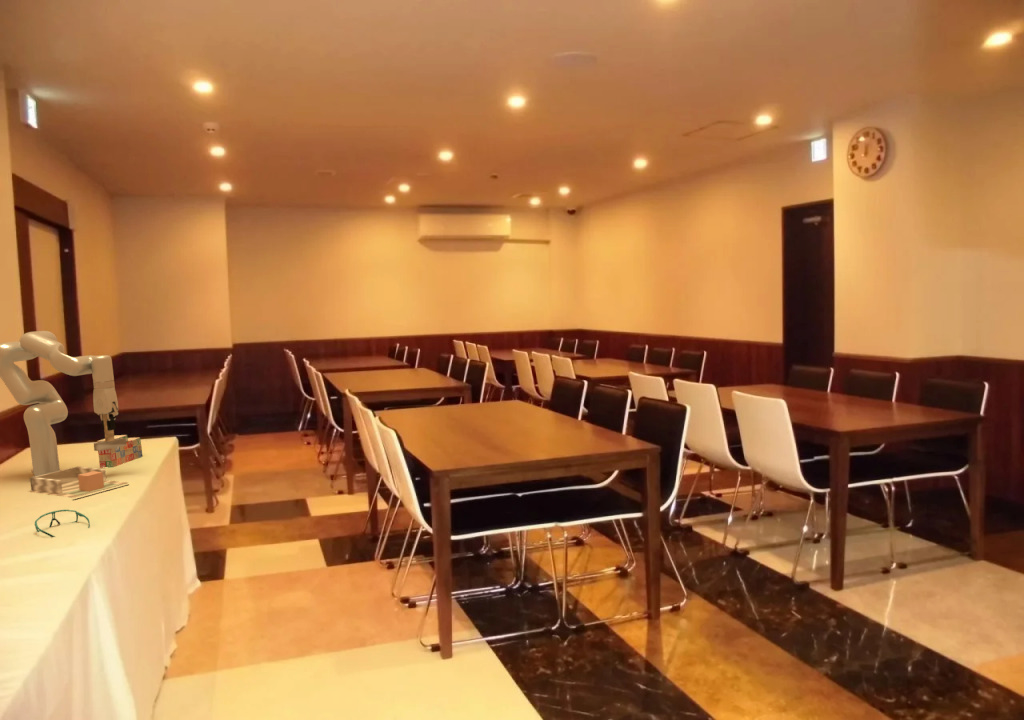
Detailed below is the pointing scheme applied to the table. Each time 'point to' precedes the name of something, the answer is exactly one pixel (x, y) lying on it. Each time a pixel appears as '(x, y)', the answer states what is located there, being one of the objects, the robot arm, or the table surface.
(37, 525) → the sunglasses
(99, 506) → the table surface
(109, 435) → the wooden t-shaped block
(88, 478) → the block
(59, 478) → the cubby
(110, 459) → the stack of blocks
